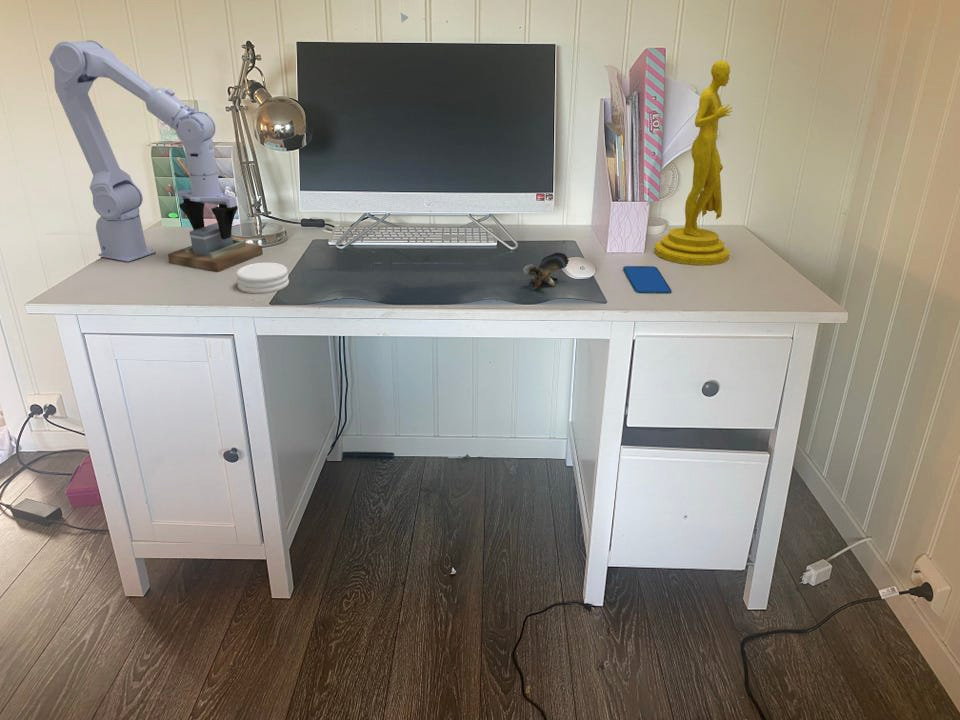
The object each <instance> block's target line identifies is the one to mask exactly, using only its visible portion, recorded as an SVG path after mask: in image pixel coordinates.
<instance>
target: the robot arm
mask: <svg viewBox="0 0 960 720" xmlns="http://www.w3.org/2000/svg"><path fill="white" fill-rule="evenodd" d="M48 60H49V62H50V64H51V66H52V69H53V77H54V90H55V93H56V94H57V97H58V100H59V101H60V104H61V106H62V108H63V111H64V113H65V116H66V118H67V119H68V122H69V124H70V126H71V127H70V128H71V129H72V131H73V133H74V135H75V138H76V140H77V142H78V145H79V147H80V148H81V151H82V154H83V156H84V158H85V160H86V162H87V164H88V167H89V169H90V171H91V173H92V175H93V176H92V179H91V183H90V185H89V189H90V192H91V195H92V205H93V206H92V207H93V208H94V210H95V211H96V213H97V214H98V215H99V217H98V219H97V220H96V224H95V231H96V235H97V240H98V243H99V247H100V252H101V253H98V255H97V256H98V257H101V258H107V259H112V260H115V261H123V262H132V261H134V260H139V259H140V258H141V259H142V258H143V257H146V256H150V255H153V254H156V253H157V250H155V249H150V248H147V243H146V238H145V234H144V230H143V224H142V220H141V216H140V215H141V214H140V211H141V210H140V207H141V205H142V204H143V193H142V192H141V189H140V188H139V187H138V186H137V185H136V184H135V183H134V182H133V180H132V178H131V175H130V174H128V173H127V172H126V171H124V170H123V169H121V167H120V165H119V164H118V161H117V158H116V156H115V154H114V152H113V151H114V150H113V149H112V146H111V145H110V142H109V140H108V137H107V136H106V133H105V131H104V128H103V125H102V124H101V122H100V119H99V116H98V115H97V112H96V109H95V108H94V105H93V102H92V101H91V98H90V96H89V91H90V89H91V87H93V84H94V82H95V81H96V80H97V79H98V78H105V79H110V80H111V81H113V82H114V83H115V84H117V85H119V87H122V88H123V89H124V90H126V91H128V92H129V93H131V94H132V95H134V96H136V97H137V98H139V99H140V100H142V101H143V102H144V103H145V107H146V110H147V111H148V112H149V113H150V114H152V115H153V116H154V117H156V118H157V119H158V120H160V121H161V122H162V123H164V124H166V125H167V126H168V127H170V128H171V129H172V130H174V131H175V133H176V136H177V138H178V139H179V140H180V141H181V142H182V144H183V148H184V153H185V159H186V165H187V170H188V177H189V183H190V188H191V190H190V189H182V190H179V191H177V193H178V198H179V199H178V200H179V201H183V202H182V203H179V204H178V205H179V208H180V210H182V212H183V213H184V214H185V216H186V218H187V220H188V221H189V223H190V226H191V228H192V231H193V230H196V229H199V228H202V227H205V219H204V218H205V217H204V215H205V214H204V213H205V211H204V209H205V204H209V205H216V207H212V208H211V212H212V213H213V215H214V217H215V220H216V223H218V226H219V231H220V235H221V238H222V239H227V238H230V237H231V232H232V228H233V224H234V223H233V222H234V218H235V216H236V213H237V211H238V209H239V208H238V204H237V197H236V196H233V195H229V194H226V193H222V192H221V187H220V181H219V174H218V168H217V162H216V155H215V153H216V152H215V147H214V141H213V138H214V137H215V134H216V131H217V129H216V123H215V121H214V119H212V117H211V116H209V114H208V113H207V112H205V111H200V110H199V111H196V109H195V107H194V106H192V105H188V104H186V103H185V102H184V101H182V100H181V99H180V98H178V97H177V96H175V94H176V92H175V91H173V90H172V89H170V88H168V89H166V88H164V87H158V88H155V87H154V86H152V85H151V84H150V83H149V82H148V81H146V80H145V79H144V78H143V77H142V76H140V75H139V74H137V73H136V71H134V70H133V69H131V68H130V67H129V66H128V65H126V64H125V63H124V62H122V61H121V59H119V58H118V57H117V56H116V55H115V54H114V52H113V51H112V50H111V49H108V48H107V47H106V48H105V47H104V46H103V45H102V44H101V43H99V42H98V41H97V40H96V41H95V40H91V39H90V40H85V41H60V42H58V43H57V44H55V46H54V48H53V50H52V52H51V54H50V56H49V58H48Z"/></svg>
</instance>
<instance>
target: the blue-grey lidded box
mask: <svg viewBox="0 0 960 720" xmlns="http://www.w3.org/2000/svg"><path fill="white" fill-rule="evenodd" d="M204 226H205V225H204ZM232 232H233V231H231V237H230V238H227V239H222V238H221V235H220V231H219V226H218V223H217V222H216V223H212V224H208V225H206V226H205V227H202V228H199V229H196V230H193V229H192V230H190V231H189V237H190V241H191V246H192V248H193V254H196V255H202V256H209V253H210V252H213V251H216V250H219V249H222V248H224V247H227V246H230V245H233V239H232V238H233V233H232Z"/></svg>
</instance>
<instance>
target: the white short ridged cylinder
mask: <svg viewBox="0 0 960 720" xmlns="http://www.w3.org/2000/svg"><path fill="white" fill-rule="evenodd" d="M288 272H289V270H288V268H287V266H285V265H284V264H281V263H278V262H277V263H276V262H256V263H255V262H254V263H251V264H246V265H245V266H242V267H240V268H238V269H237V270H236V272H235V276H236V282H237V287H238V289H239V290H240V291H242V292H244V293H248V294H266V293H267V294H268V293H274V292H278V291H281V290H283V289H285V288H286V287H287V286H289V283H290V280H289V274H288Z"/></svg>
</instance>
